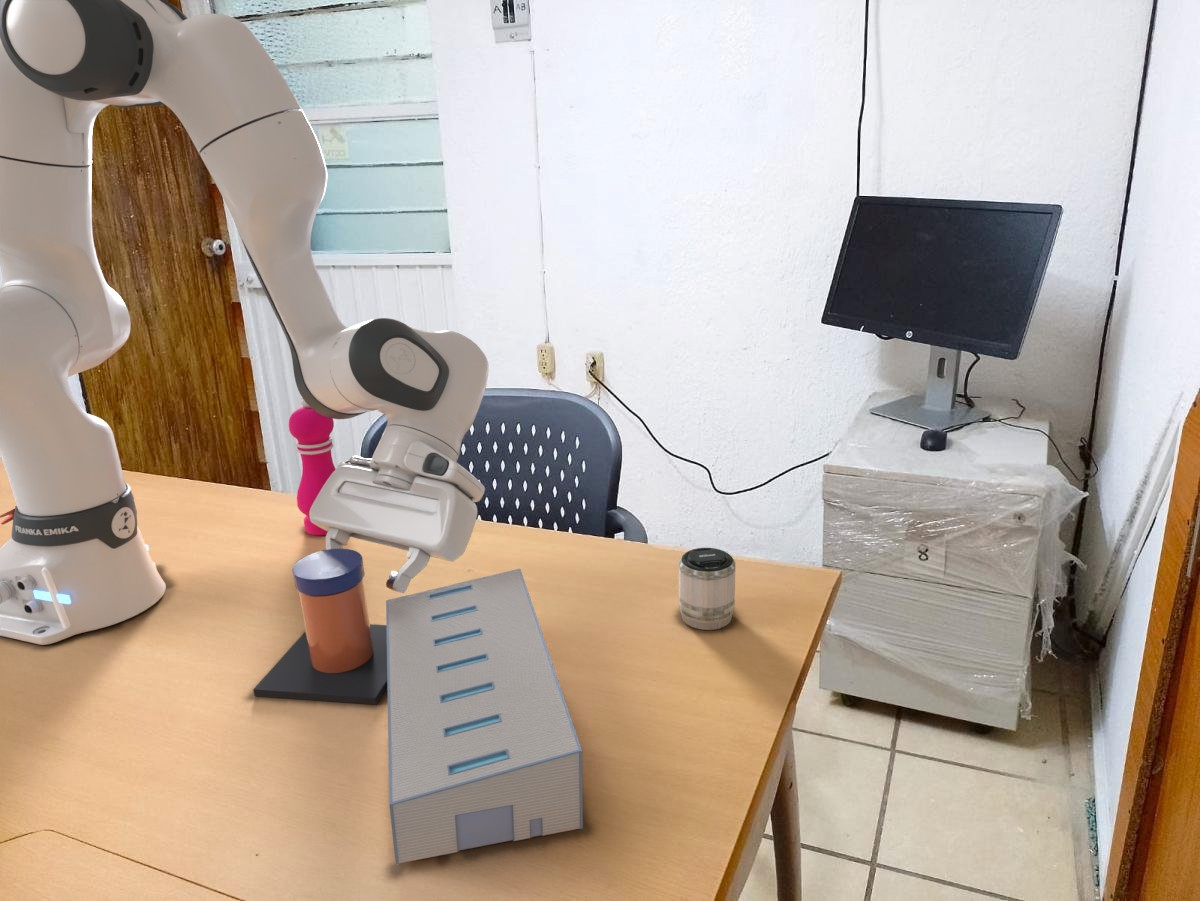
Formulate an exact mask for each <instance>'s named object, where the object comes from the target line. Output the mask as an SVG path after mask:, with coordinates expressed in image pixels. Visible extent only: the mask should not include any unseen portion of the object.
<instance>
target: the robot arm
mask: <svg viewBox="0 0 1200 901" xmlns="http://www.w3.org/2000/svg"><path fill="white" fill-rule="evenodd" d="M110 105H111V106H115V107H118V108H122V109H124V108H134V107H153V106H154V107H156V106H163V105H165V107H167V108H169V110H171V112H173V113H174V114H175V115H176V117H177V118H178V120H179V121H180V123H181V124H182V126H183V127H184V129H185V131H186V133H187V134H188V136H189V138H190V140H191V141H192V144H193V145H194V147H195V149H196V151H197V153H198V155H199V156H200V159H201V160H202V161H203V164H204V166H205V167H206V169H207V171H208V172H209V174H210V176H211V178H212V180H213V182H214V183H215V185H216V187H217V189H218V191H219V193H220V195H221V197H222V199H223V201H224V203H225V205H226V208H228V211H229V213H230V215H231V218H232V219H233V222H234V224H235V227H236V229H237V232H238V234H239V237H240V240H241V242H242V244H243V247H244V249H245V253H246V255H247V257H248V259H249V262H250V264H251V266H252V268H253V271H254V272H255V275H256V277H257V279H258V281H259V283H260V286H261V287H262V290H263V292H264V294H265V296H266V298H267V300H268V302H269V304H270V306H271V309H272V311H273V312H274V315H275V317H276V319H277V321H278V323H279V325H280V327H281V330H282V332H283V333H284V336H285V339H286V341H287V344H288V347H289V350H290V355H291V361H292V369H293V377H294V380H295V385H296V388H297V390H298V393H299V395H300V396H301V399H302V398H303V399H304V401H305V402H306V403H307V404H308V405H309V406H310V407H311V408H312V409H313V410H315V411H316V412H318V413H319V414H321V415H323V416H326V417H329V418H333V420H348V419H353V418H355V417H357V416H361V415H363V414H365V413H369V412H373V411H378V412H379V413H382V414H383V415H384V416H386V418H387V423H386V426H385V428H384V431H383V433H382V435H381V437H380V440H379V442H378V444H377V446H376V448H375V450H374V452H373V455H372V456H371V458H364V457H363V456H358V455H352V456H351V457H350V458H347V459H345V460H343V461H342V462H339V464H338V465H337V466H336V467H335V469H336V470H335V471H334V472H333V473H332V474H331V476H330V477H329V478H328V480H327V481H326V483H325V484H324V486H323V487H322V489H321V491H320V492H319V494H318V496H317V497H316V499H315V501H314V503H313V505H312V507H311V509H310V512H309V514H310V521H311V522H312V523H313V524H315V525H317V526H318V527H320V528H322V529H324V530H326V531H328V533H327V535H325V550H329V549H343V546H347V544H348V542H349V540H350V538H353V539H357V540H358V539H359V540H362V541H365V542H370V543H374V544H378V545H382V546H386V547H390V548H394V549H398V550H402V551H406V552H407V553H406V555H405V557H406V558H407V561H406V562H405V563H403V565H402V566H401V567H400V568H399V569H398V570H397V571H395V570H391V571H390V573H389V575H388V579H387V580H386V583H385V586H386V588H387V589H388V590H389V589H390V590H391V591H394V592H396V593H400V594H405V593H406V592H407V590H408V587H409V585H410V582H412V579H413V578H415V577H416V576H417V575H418V574H419V573H421V572H422V571H423V570H424V569H425V568H426V567H427V565H428V564H429V561H430V559H431V558H434V559H439V560H443V561H448V562H451V563H452V562H456V561H457V560H458V559H459V558H460V557H462V556H463V555H464V553H465V552H466V550H467V547H468V545H469V542H470V539H471V537H472V534H473V532H474V528H475V525H476V521H477V518H478V506H477V504H476V503H478V502H480V501H481V500H482V498H483V496H484V494H485V491H486V487H485V486H484V485H483V483H482V482H481V481H480V480H479V479H478V478H476V477H475V476H474V474H472V473H471V472H470V471H468V470H467V469H466V468H465V467H464V466H462V465H461V464H460V463H459V462H458V460H459V457H460V454H461V446H462V442H463V439H464V438H465V435H466V434H467V432H468V431H470V429H471V428H472V426H473V424H474V422H475V419H476V417H477V414H478V412H479V409H480V407H481V404H482V401H483V399H484V396H485V392H486V389H487V385H488V381H489V372H490V371H489V370H490V369H489V361H488V358H487V355H486V354H485V353H484V351H483V350H482V349H481V348H480V346H478V344H477V343H475V342H474V341H473V340H471V339H470V338H469V337H467V336H465V335H463V334H462V333H459V332H456V331H453V330H448V329H447V330H440V331H439V330H438V331H428V330H422V329H417V328H414V327H412V326H410V325H408V324H406V323H404V322H403V321H400V320H397V319H394V318H389V317H380V318H375V319H370V320H367V321H363V322H360V323H357V324H355V325H352V326H349V327H347V326H345V324H344V323H343V322H342V321H341V319H340V318H339V316H338V314H337V311H336V309H335V307H334V305H333V302H332V300H331V298H330V296H329V294H328V291H327V289H326V286H325V285H324V283H323V282H324V281H323V280H322V278H321V276H320V274H319V271H318V269H317V267H316V264H315V261H314V258H313V254H312V247H311V246H312V244H311V239H312V231H313V226H314V222H315V219H316V216H317V213H318V211H319V208H320V206H321V204H322V202H323V199H324V196H325V194H326V189H327V183H328V169H327V165H326V161H325V158H324V155H323V153H322V152H323V151H322V148H321V146H320V143H319V141H318V138H317V136H316V134H315V132H314V130H313V128H312V126H311V124H310V122H309V120H308V119H307V117H306V114H305V113H304V110H303V109H302V107H301V105H300V103H299V102H298V100H297V97H296V96H295V93H294V92H293V90H292V89H291V87H290V86H289V84H288V82H287V80H286V79H285V77H284V76H283V74H282V72H281V71H280V70H279V68H278V66H277V65H276V63H275V61H274V60H273V59H272V57H271V55H269V54H268V52H267V50H266V49H265V47H264V46H263V45H262V44H261V42H260V41H259V40H258V38H257V37H256V36H255V35H254V33H253V32H252V31H251V30H250V28H248V26H247V25H246V24H244V22H242V21H240V20H239V19H237V18H235V17H232V16H230V15H227V14H222V13H221V14H220V13H201V14H197V15H193V16H191V17H187V16H186V14H184V12H183V11H181V10H180V9H179V8H178V7H177V6H175V5H174V4H172V3H171V2H169V1H168V0H0V270H1V275H2V282H1V286H0V458H1V461H2V464H3V468H4V470H5V473H6V477H7V479H8V482H9V485H10V489H11V491H12V494H13V498H14V501H15V504H16V506H14V508H12V509H11V510H9V511H6V512H4V513H2V514H0V519H2V518H4V517H5V518H4V519H3V520H2V521H0V525H1V526H3V525H5V524H7V523H9V522H12V527H11V536H10V538H9V539H8V540H7V541H5V543H4V544H3V545H2V546H1V547H0V637H5V638H9V639H14V640H18V641H21V642H27V643H31V644H36V645H39V646H40V645H41V646H45V645H51V644H54V643H58V642H61V641H62V640H63V641H64V640H67V639H68V638H70V637H73V636H75V635H76V636H77V635H79V634H82V633H87V632H93V631H96V630H99V629H100V630H101V629H103V628H107V627H111V626H113V625H116V624H119V623H122V622H124V621H126V620H130V619H131V618H133V617H135V616H138V615H140V614H141V613H143V612H145V611H146V610H148V609H149V608H151V607H152V606H154V605H155V604H156V603H158V602H159V601H160V599H162V597H163V596H164V595H165V592H166V590H167V585H166V582H165V581H164V580H163V578H162V576H161V574H160V573H159V571H158V568H157V566H156V563H155V562H154V561H153V558H152V557H151V555H150V552H149V550H150V547H149V544H146V542H145V540H144V538H143V534H142V532H141V530H140V527H139V524H138V511H137V510H138V509H137V507H136V503H135V497H134V494H133V492H132V489H131V486H130V485H129V484H128V483H126V480H125V475H124V472H123V469H122V464H121V459H120V456H119V451H118V447H117V442H116V439H115V434H114V432H113V430H112V428H111V426H110V425H109V424H108V423H107V422H106V421H105V420H103V418H100V417H99V416H96V415H93V414H90V413H87V412H86V411H85V410H84V409H83V408H82V406H81V405H80V404H79V402H78V401H77V399H76V397H75V396H74V394H73V391H72V389H71V388H70V384H69V381H68V380H69V377H71V376H75V375H77V374H80V373H82V372H85V371H87V370H90V369H94V368H96V367H98V366H99V365H101V364H103V363H104V362H105V361H106V360H108V359H109V358H111V357H112V356H113V355H115V353H118V351H119V350H121V348H123V346H125V344H126V343H127V341H128V340H129V337H130V334H131V326H132V325H131V324H132V323H131V322H132V321H131V316H130V313H129V312H130V311H129V310H128V307H127V305H126V303H125V302H124V300H123V299H122V297H121V296H120V295H119V293H118V292H117V291H115V289H113V288H112V287H110V286H109V284H108V282H107V281H106V279H105V277H104V275H103V272H102V269H101V266H100V263H99V259H98V257H97V256H98V255H97V252H96V247H95V243H94V242H95V241H94V236H93V234H94V233H93V212H92V210H93V206H92V204H93V202H92V197H93V196H92V187H93V186H92V180H93V174H92V173H93V165H92V164H93V160H92V159H93V128H94V123H95V121H96V119H97V116H98V114H100V112H101V111H102V110H103V109H105V108H106V107H108V106H110ZM6 516H7V517H6Z"/></svg>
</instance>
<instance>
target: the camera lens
mask: <svg viewBox="0 0 1200 901" xmlns="http://www.w3.org/2000/svg"><path fill="white" fill-rule="evenodd" d="M735 595H736V560H735V559H734V558H733V556H732V555H731V554H729V553H728V552H727V551H724V550H722V549H719V548H715V547H697V548H693V549H690V550H688V551H686V552H685V553H683V554H682V555H681V557H680V558H679V559H678V604H679V612H680V614H681V619H682V621H683V622H684V623H685V624H686V625H687V626H689V627H692V628H694V629H698V630H703V631H712V630H720V629H723V628H724V627H725V628H726V626H728V625H729V624H730V623H731V621H732V618H733V616H732V615H734V610H735V603H736V600H735Z"/></svg>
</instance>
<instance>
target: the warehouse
mask: <svg viewBox="0 0 1200 901" xmlns="http://www.w3.org/2000/svg"><path fill="white" fill-rule="evenodd" d="M385 614H386V615H385V616H386V617H385V618H386V619H385V620H386V624H385V625H386V627H387V737H388V738H387V740H388V742H387V744H388V745H387V746H388V799H389V800H388V804H389V813H390V824H391V832H392V842H393V850H394V851H393V852H394V860H395V865H396V866H398V865H400V864H402V863H403V864H404V863H408V862H412V861H417V860H418V861H419V860H422V859H423V860H424V859H429V858H434V857H439V856H444V855H449V854H455V853H459V851H462V850H468V849H473V848H478V847H479V848H480V847H484V846H489V845H490V846H491V845H494V844H500V843H504V842H511V841H513V843H514V842H517V841H521V840H522V841H523V840H527V839H532V838H534V837H538V836H541V837H544V836H549V835H553V834H558V833H563V832H569V831H574V830H583V829H584V810H583V809H584V803H583V802H584V801H583V800H584V798H583V797H584V796H583V795H584V792H583V789H584V788H583V786H584V784H583V749H582V747H581V743H580V741H579V738H578V734H577V732H576V728H575V727H574V723H573V720H572V716H571V714H570V710H569V708H568V705H567V703H566V699H565V697H564V693H563V691H562V687H561V684H560V682H559V679H558V676H557V673H556V670H555V667H554V664H553V661H552V658H551V654H550V652H549V648H548V647H547V643H546V640H545V637H544V635H543V631H542V629H541V626H540V623H539V620H538V619H539V618H538V616H537V614H536V611H535V608H534V605H533V602H532V599H531V596H530V593H529V591H528V588H527V584H526V581H525V578H524V575H523V573H522V569H521V568H517V569H513V570H509V571H504V572H500V573H496V574H491V575H487V576H484V577H478V578H474V579H471V580H466V581H462V582H458V583H453V584H449V585H445V586H441V587H437V588H432V589H428V590H424V591H419V592H416V593H412V594H407V595H404V596H403V595H402V596H399V597H394V598H391V599H387V600H385Z"/></svg>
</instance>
